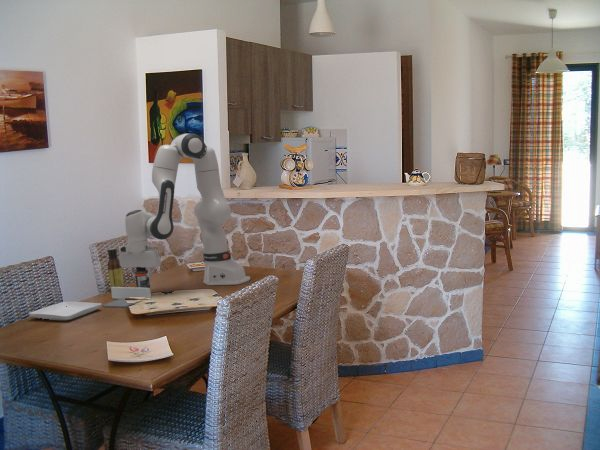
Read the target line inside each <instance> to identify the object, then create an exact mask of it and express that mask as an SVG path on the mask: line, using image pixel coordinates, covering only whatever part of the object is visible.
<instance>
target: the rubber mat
mask: <svg viewBox="0 0 600 450" xmlns="http://www.w3.org/2000/svg"><path fill="white" fill-rule="evenodd" d="M132 304H133V303H127V302H126V301H125V299H116V300H113V301H110V302H107V303H105V304H103V305H101V307H102V308H122V309H123V308H124V309H125V308H128V307H130V306H129V305H131V306H133V305H134V304H133V305H132Z"/></svg>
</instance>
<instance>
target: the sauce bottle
mask: <svg viewBox="0 0 600 450" xmlns="http://www.w3.org/2000/svg"><path fill="white" fill-rule="evenodd" d="M117 252H118V251H117V248H116V247H114V248H113V247H112V248H108V249H107V253H108V262H107V269H108V276H109V284H110V288H111V287H125V282H124V281H125V280H124V273H123V269H122V267H121V266H120V262H119V258H118V254H117Z"/></svg>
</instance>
